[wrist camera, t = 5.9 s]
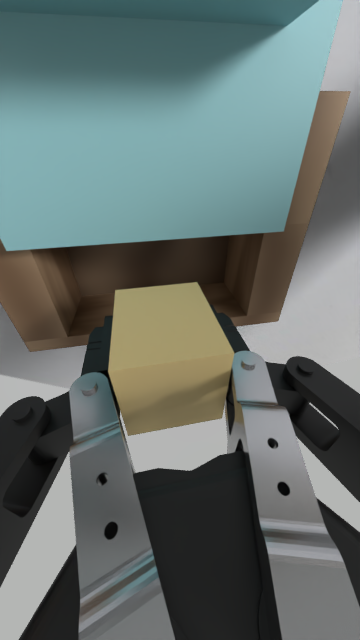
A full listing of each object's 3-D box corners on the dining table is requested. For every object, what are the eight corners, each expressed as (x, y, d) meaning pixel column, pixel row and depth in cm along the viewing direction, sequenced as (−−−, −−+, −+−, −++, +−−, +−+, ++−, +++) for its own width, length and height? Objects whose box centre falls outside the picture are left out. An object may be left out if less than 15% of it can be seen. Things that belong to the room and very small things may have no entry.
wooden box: (284, 108, 16) (350, 91, 11) (249, 287, 24) (278, 321, 19) (-35, 108, 13) (-130, 85, 8) (52, 307, 22) (30, 351, 17)
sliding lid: (333, -24, 8) (507, -173, 5) (275, 226, 14) (331, 257, 10) (-128, -62, 7) (-510, -371, 3) (14, 244, 12) (-42, 290, 8)
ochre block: (197, 282, 11) (234, 353, 7) (194, 341, 14) (222, 418, 10) (115, 290, 11) (108, 371, 7) (128, 350, 13) (128, 435, 9)
